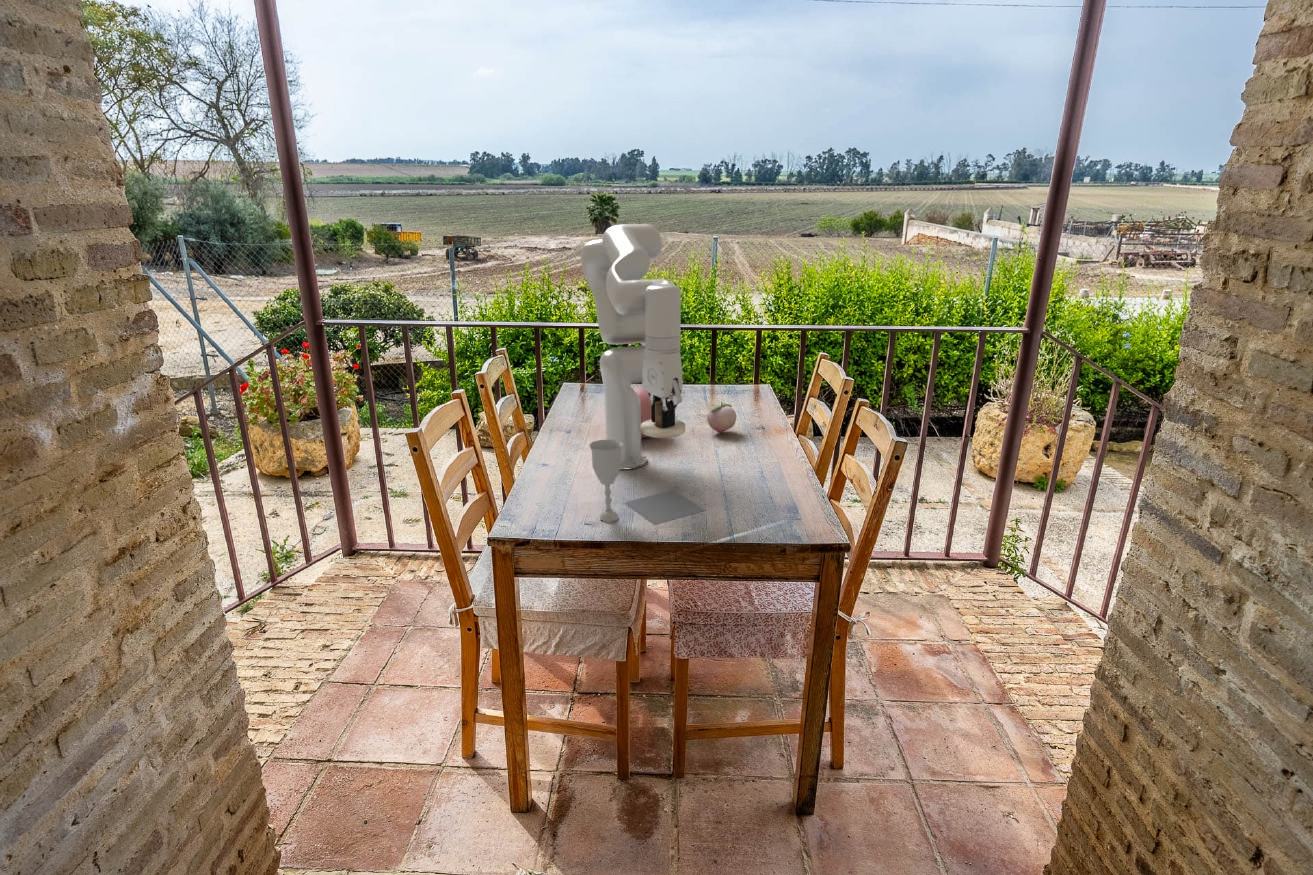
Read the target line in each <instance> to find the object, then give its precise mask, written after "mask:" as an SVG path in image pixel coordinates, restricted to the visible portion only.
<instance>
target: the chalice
mask: <svg viewBox="0 0 1313 875" xmlns="http://www.w3.org/2000/svg"><path fill="white" fill-rule="evenodd" d="M622 445H623V444H622V442H620V441H617V440H606V439H600V440H599V439H598V440H595V441H591V442H590V443H589V445H588V447H589V448H590V450H591V462H592V468H593V471H594V474H595V475H596V478H597V480H598V481H599V483H600V484H601V485H604V486H605V490H604V492H603V494H604V496H605V499H604V500H603V501H604V502H605V508H604V509H602V510H601V511H600V513H599V516H598V519H599V518H600V520H603V521H606V522H605V523H613V522H612V521H614V522H616V521H618V520H619V518H618V517H619V514H618V512H617V511H616V510H615V509H614V508H612V506H611V503H612V501H613V499H612V498H611V494H612V491H611V488H610V487H611V485H614V484H615V481H616V479H617V477H618V475H619V472H620V470H621V469H620V467H621V447H622ZM600 520H599V521H600ZM615 520H616V521H615Z"/></svg>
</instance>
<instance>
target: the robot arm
mask: <svg viewBox="0 0 1313 875" xmlns="http://www.w3.org/2000/svg"><path fill="white" fill-rule="evenodd" d="M662 241H663V240H662V236H661V234H660V231H659V230H658V229H657V228H656V227H655V226H654V225H653V224H649V223H636V224H635V223H633V224H632V223H631V224H630V223H628V224H615V225H612V226H610V227H608V228H607V229H606V230H604V232H603V234H602V238H600V239H593V240H590V241H588V242H586V243H585V244H584V245H583V246H582V248H581V251H580V263H581V268H582V273H583V275H584V278H585V282H586V283H587V285H588V287H589V289H590V290H591V293H592V295H593V300H594V305H595V312H596V319H597V324H598V328H599V329H598V330H599V334H600V337H601V340H602V341H603V342H604V343H606V344H607V345H627V344H638V343H639V344H641V345H637V346H636V345H635V346H623V347H613V348H610V349H607V350H605V351H604V352H603V353H602V354H601V356H600V358H599V368H600V375H601V379H602V384H603V394H604V395H603V396H604V417H605V437H606V438H605V440H617V441H620V442H622V444H623V445H622V447H621V467H620V468H633V469H636V468H635V467H638V466H641V467H643V466H645V465H646V464H647V463H646V462H648V456H647V454H645V453H644V452H642V438H641V405H640V398H639V396H638V394H637V393H636V392H635V391H634V390H633V389H632V388H633V387H632V386H631V385H632V384H636V383H637V384H640V383H641V387H643V389H644V390H645V391H646V392H648V394H649V396H650V404H651V421H652V422H653V423H655V402H657V401H663V410H662V427H663V428H666V427H671V426H674V425H675V419H676V410H677V406H678V405H679V404H681V403H682V402H683V398H682V392H683V367H682V366H683V364H682V358H681V357H682V356H681V352H680V351H681V316H682V315H681V314H682V313H681V312H682V311H681V310H682V308H681V306H682V299H681V298H682V292H681V288H680V287H679V286H678V285H675V284H674V283H673V282H672V281H671V280H669V279H667V278H646V279H643V278H644V277H645V276H646V275H647V273H648V272H649V270H650V267H651V264H652V263H653V262H655V261H656V260H657V259H658V258H659V256H660V254H661V251H662V247H663V246H662V245H663V242H662ZM668 401H669V402H668ZM645 463H646V464H645ZM642 465H643V466H642ZM638 468H639V467H638Z"/></svg>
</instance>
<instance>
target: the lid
mask: <svg viewBox="0 0 1313 875" xmlns="http://www.w3.org/2000/svg"><path fill="white" fill-rule="evenodd" d="M667 401H668V402H669V401H670V400H667ZM662 410H663V401H657V402H655V423H653V422H652V421H651V420H647V421H645V422H643V423H642V424H641V432H642V433H643V434H644V435H647V436H649V437H650V438H654V439H655V438H657V439H670V438H676V437H680V436H682V435H684V434H685V433H686V423H685V422H683V421H682V420H679V419H676V418H675V425H674V426H671V427H666V428H663V427H662Z"/></svg>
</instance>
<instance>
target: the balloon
mask: <svg viewBox="0 0 1313 875" xmlns="http://www.w3.org/2000/svg"><path fill="white" fill-rule="evenodd" d="M631 388H632V389H633V390H634V391H635V392H636V393H637V394H638V396H639V398H640V405H641V424H642V423H643V422H645V421H647V420H651V404H650V396H649V394H648V392H646V391H645V390H644V389H643V387H642V386H635V387H631ZM645 437H646V438H648V437H650V436H647V435H644V434H643V433H642V432H641V439H645Z"/></svg>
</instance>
